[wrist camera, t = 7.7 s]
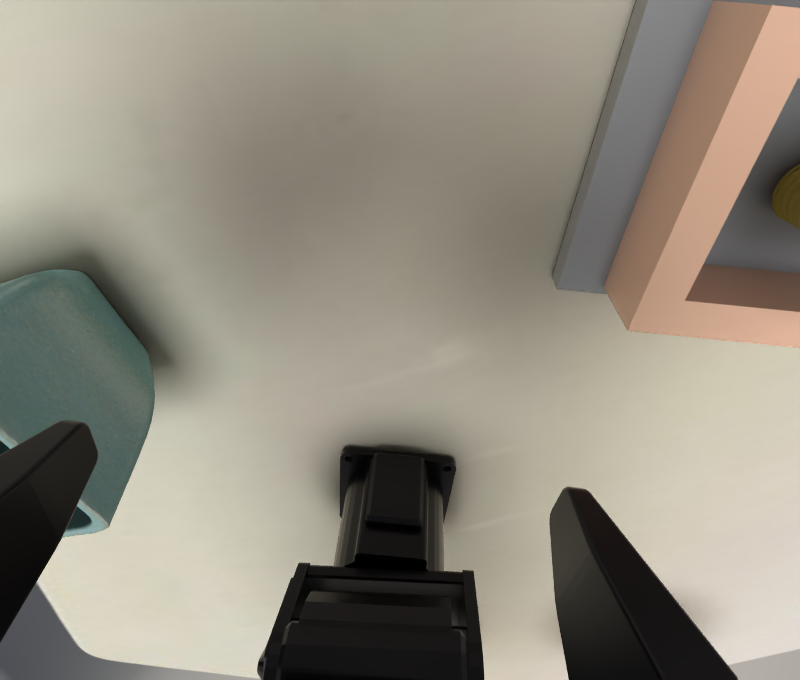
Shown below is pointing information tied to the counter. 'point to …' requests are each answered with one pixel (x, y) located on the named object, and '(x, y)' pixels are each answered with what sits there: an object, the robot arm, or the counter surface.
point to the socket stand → (695, 175)
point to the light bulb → (788, 197)
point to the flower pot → (74, 380)
